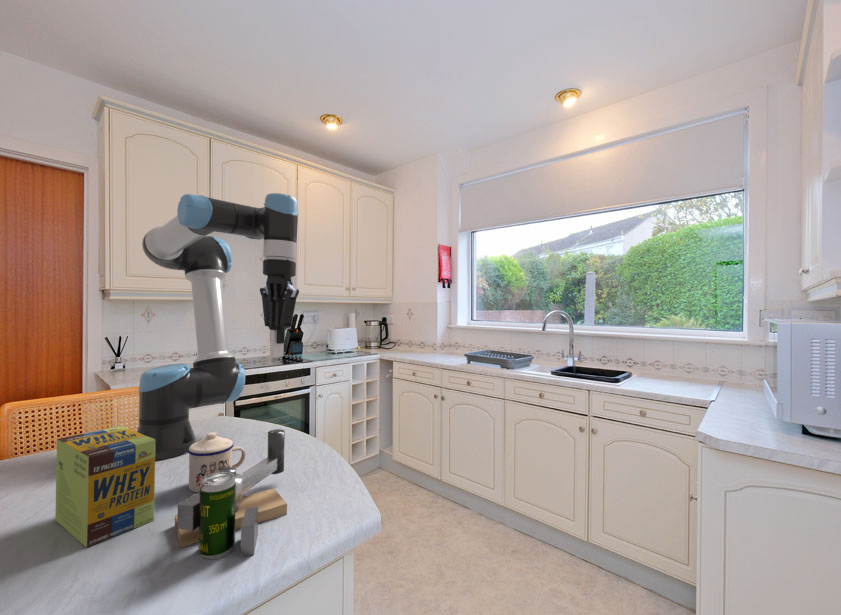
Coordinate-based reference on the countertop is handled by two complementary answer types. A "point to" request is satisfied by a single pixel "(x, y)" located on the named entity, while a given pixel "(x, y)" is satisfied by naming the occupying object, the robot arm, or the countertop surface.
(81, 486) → the protein box
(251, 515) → the pivot and anvil
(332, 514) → the countertop surface
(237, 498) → the lever
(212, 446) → the teacup with lid
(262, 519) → the press bench
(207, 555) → the green drink can
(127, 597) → the countertop surface
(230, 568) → the countertop surface
